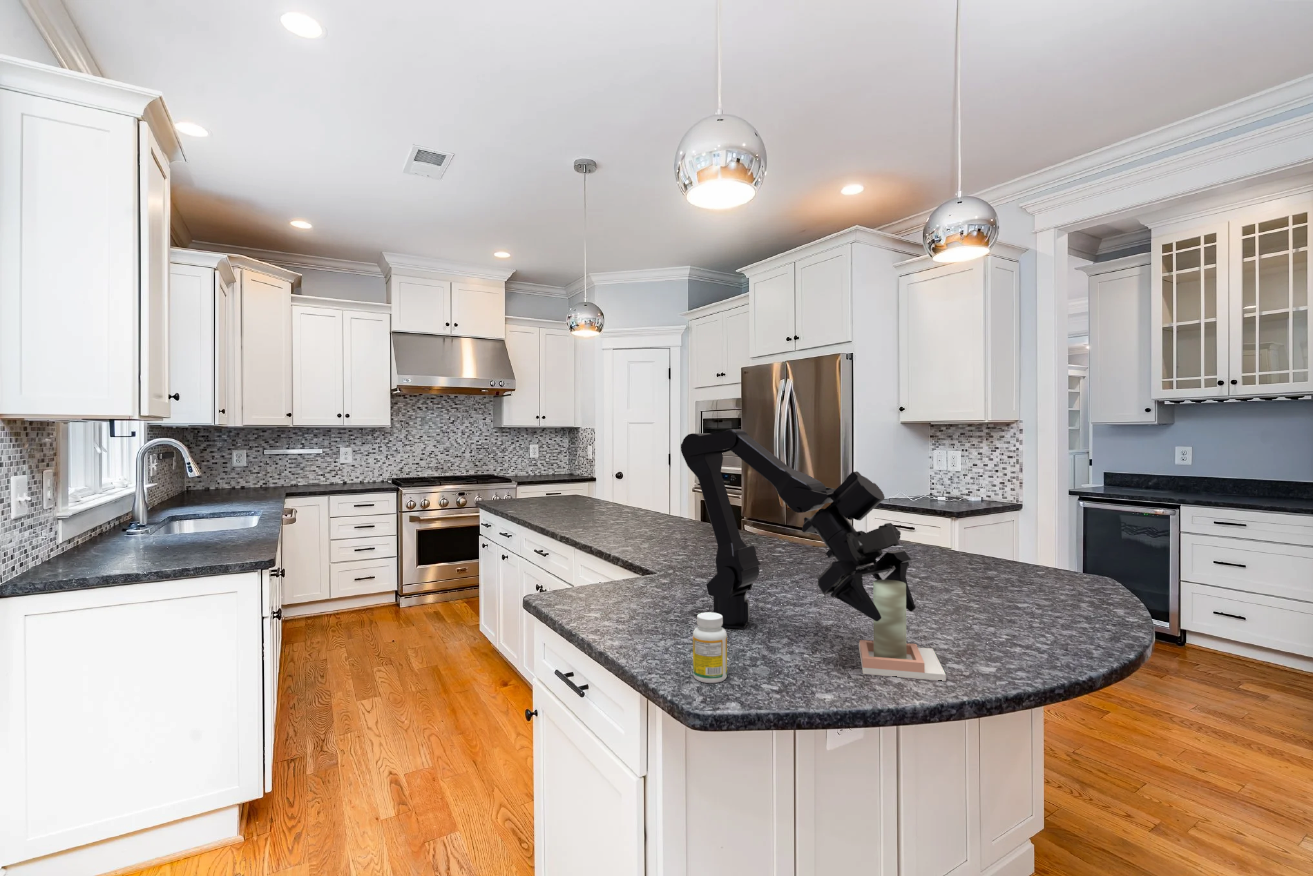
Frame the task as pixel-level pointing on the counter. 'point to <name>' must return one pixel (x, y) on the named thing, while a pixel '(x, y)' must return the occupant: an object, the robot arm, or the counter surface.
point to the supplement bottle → (710, 648)
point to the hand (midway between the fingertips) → (896, 614)
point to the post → (890, 619)
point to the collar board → (902, 663)
